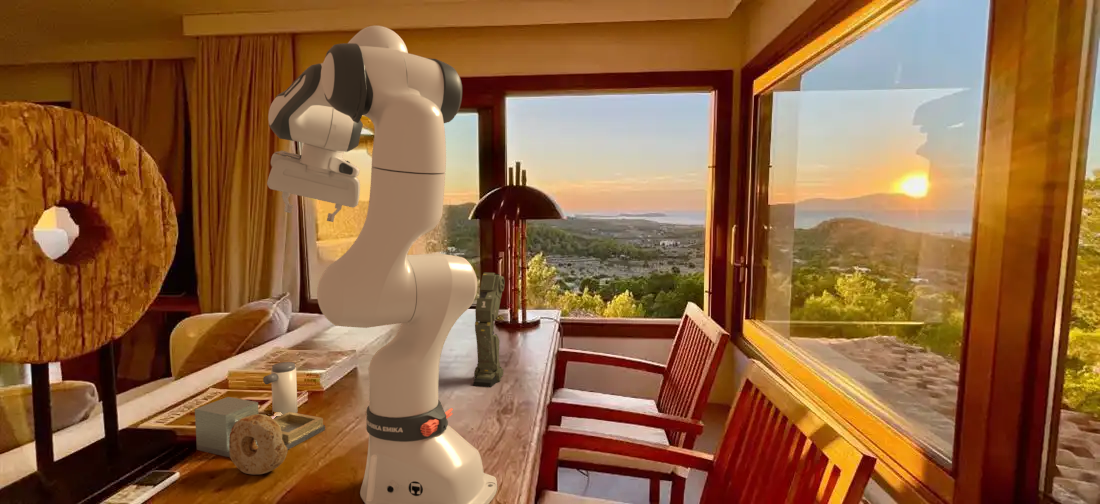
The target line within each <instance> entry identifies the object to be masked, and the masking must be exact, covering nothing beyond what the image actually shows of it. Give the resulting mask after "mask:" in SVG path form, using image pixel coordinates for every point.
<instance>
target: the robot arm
mask: <svg viewBox="0 0 1100 504" xmlns="http://www.w3.org/2000/svg"><path fill="white" fill-rule="evenodd" d="M408 51H409V50H408V48H407V46H406V43H405V42H404V40H403V38H401V36H399V34H398V33H396V32H395V31H394V30H392V29H390V28H388V27H386V26H382V25H370V26H367V27H365V28H362V29H361V30H359V31H358V32H357V33H356V34H355V35H354V36H352V38H350V40H349V41H348V42H347V43H337V44H333V45H332V46H331V47H330V49H328V50H327V51H326V54H325V57H324V60H323V62H321V63H315V64H311V65H310V66H308V67H307V68H306V69H305V70H304V71H303V72H302V73H301V74H300V75H299V76H298V77H297V78H296V79H295V80H294V81H293V82H292V83H291V84H290V86H288V87H287V89H285V90H284V91H282V92H280V93H278V94H277V95H276V96H275V98H274V99H273V101H272V103H271V104H270V107H269V109H268V119H267V121H268V126H269V128H270V129H271V130H272V132H273V133H274V135H275V136H277V138H279V139H281V140H285V141H286V140H287V141H291V142H294V141H295V142H298V143H299V142H300V143H303V145H302V149H301V154H299V153H298V154H297V153H293V152H288V151H285V150H280V151H275V152H274V153H273V154H272V156H271V159H270V166H271V169H270V172H269V176H268V178H267V180H266V181H267V182H266V186H267V187H268V188H269V189H270V190H274V191H278V192H282V194H281V197H282V200H283V203H284V205H285V206H284V209H283V210H284V211H283V212H284V213H290V214H292V213H293V208H294V205H293V204H291V202H290V201H289V199H288V198H289V197H291V194H292V195H295V196H300V197H304V198H309V199H314V200H318V201H322V202H327V203H332V204H334V205H335V206H334V209H335V210H334V211H333V212H332V213H329V212H328V214H327V217H326V221H327V222H330V223H333V222H334V221H335V216H336V215H337V214H338V213H339V212H340V211H341V210H342V206H345V207H349V208H352V209H353V208H356V207H357V206H358V205H359V200H360V195H361V182H360V179H359V178H358V176H359V175H360V171H361V169H360V168H359V167H358V166H357V165H355V164H353V163H351V162H350V161H349V160H346V159H345V158H343V157H344V152H345V153H348V152H350V151H352V150H354V149H356V148H357V147H359V146H360V145H359V142H360V139H361V135H362V130H363V126H364V124H363V122H362V120H361V119H362V117H365V118H366V117H367V118H368V119H370V120H371V122H372V124H373V127H374V137H373V143H372V144H373V146H372V153H371V170H370V171H371V172H370V190H369V199H368V208H367V213H366V218H365V220H364V223H363V226H362V228H361V231H360V232H359V234H358V236H357V237H356V239H355V241H354V242H353V244H352V245H351V246H350V247H349V249H347V251H345V253H343V255H341V257H339V258H338V259H336V260H335V261H334V262H332V263H331V264H330V265H329V266H328V267H326V268H325V270H324V271H323V273H322V274H321V275H320V279H319V281H318V283H317V289H316V291H317V292H316V298H317V304H318V307H319V309H320V312H321V313H322V315H323V316H324V317H325V318H326V320H327V321H329V323H331V324H332V325H334V326H336V327H343V328H344V327H345V328H359V329H360V328H363V329H367V328H376V327H383V326H391V325H397V324H398V325H400V327H399V329H398V331H397V333H396V335H395V336H394V337H393V338H392V340H390V341H389V342H388V343H387V344H385V345H384V346H382V347H381V348H379V349H378V350H377V351H376V352H375V353H374V355H373V356H372V358H371V360H370V362H369V365H368V368H367V369H368V401H369V402H368V406H367V407H366V417H365V418H366V420H365V421H366V423H365V424H366V432H367V433H368V448H367V456H366V465H365V471H364V475H363V480H362V484H361V487H360V491H359V494H360V498H361V500H362V501H363V502H364V504H490V502H491V501H493V499H494V497H495V496H496V493H497V491H498V481H497V478H496V477H495V476H494V475H491V474H488V473H485V472H484V466H483V461H482V456H481V454H480V452H479V450H478V449H477V448H475V446H473V445H472V444H471V443H469V442H468V441H467V440H466V439H465V438H464V437H462V436H461V434H459V433H458V432H457V431H456V430H455V429H454V428H452V426H450V425H449V421H448V418H450V417H451V416H452V415H453V412H452V411H454V409H453V408H452V407H451V408H449V409H447V411H445V409H444V408H443V405H442V403H441V402H442V401H441V400H440V399H439V377H440V376H439V375H440V362H441V355H442V351H443V347H444V345H445V343H446V341H447V338H448V335H449V334H450V332H451V330H452V328H453V326H454V325H455V324H456V323H457V321H458V320H459V318H461V316H462V315H463V314H464V313H465V312H467V310H469V309H470V307H472V305H473V303H474V301H475V298H476V297H477V292H478V278H477V274H476V271H475V270H474V268H473V266H472V265H471V263H470V262H469V261H468V260H467V259H466V258H465V257H462V256H457V255H452V254H444V253H419V254H409V251H410V250H411V248H412V246H413V245H414V244H415V243H416V242H417V241H418V240H419V239H420V238H421V237H422V236H424V235H427V234H429V233H430V232H432V231H433V230H434V229H435V228H436V227H437V226H439V223H441V219H442V218H443V213H444V212H443V211H444V199H445V198H444V196H445V184H446V183H445V182H446V181H445V180H446V165H447V144H446V143H447V142H446V131H445V130H446V129H445V124H447V123H449V122H451V121H452V120H454V118H455V117H456V115H457V114H458V112H459V111H460V108H461V105H462V100H463V84H462V80H461V77H460V75H459V74H458V72H457V70H456V69H455V68H454V67H453V66H452V65H450V64H448V63H446V62H444V61H441V60H440V59H437V58H431V57H430V58H428V57H423V56H420V55H416V54H413V53H409V52H408Z"/></svg>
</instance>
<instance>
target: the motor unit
mask: <svg viewBox="0 0 1100 504" xmlns="http://www.w3.org/2000/svg"><path fill="white" fill-rule="evenodd" d="M256 414H259V402H258V401H253V400H247V399H242V398H237V397H231V396H227V397H224V398H222V399H219V400H218V399H217V400H216V401H213V402H210V403H208V404H205V405H202V406H200V407H196V408H195V409H194V420H195V437H196V440H195V441H196V450H197V451H200V452H205V453H209V454H213V455H218V456H222V457H226V458H230V448H229V441H230V433H231V431H232V430H231V429H232V428H233V426H234V424H235V423H236V422H238V421H239V420H240V419H242V418H244V417H247V416H251V415H256ZM274 420H275V421H276V422H277V423H278V425H279V426H280V428H281V431H282V440H283V441H284V445H285V446H286V447H287V450H291V449H292V448H294V447H295V446H297V445H299V444H301V443H303V442H305V441H307V440H309V439H310V438H313V437H314V436H316V435H319V434H321V433H322V432H324V431H325V430H326V425H325V424H324V418H323V417H320V416H314V415H308V414H302V413H298V412H297V413H293V412H288V413H286V414H284V415H281V416H276V417H275V418H274ZM255 442H256V445H257V446H258V443H257V441H255Z"/></svg>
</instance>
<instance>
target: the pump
mask: <svg viewBox="0 0 1100 504" xmlns="http://www.w3.org/2000/svg"><path fill="white" fill-rule="evenodd" d="M262 380H263V381H262V382H263V383H264V384H265V385H269V384H271V399H272V401H271V402H272V412H273V411H274V412H281V413H282V414H283V415H284V414H286V413H288V412H293V413H298V390H297V389H298V384H297V381H298V380H297V367H296V363H295V362H293V361H292V362H291V361H285V362H277V363H275V364H273V365H272V366H271V372H270V374H267V375H265V376H263V378H262Z"/></svg>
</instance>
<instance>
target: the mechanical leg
mask: <svg viewBox="0 0 1100 504" xmlns="http://www.w3.org/2000/svg"><path fill="white" fill-rule="evenodd" d="M480 283H481V284H480V290H479V295H478V298H477V299H476V306H475V323H474V332H475V339H476V352H477V364H476V367H475V369H474V371H473V372H474V373H473V375H474V380H473V384H472V386H473V387H482V388H492V387H494V386H495V385H496V384H497V383H499V382H500V381H502V376H504V368H502V366H501V363H500V359H499V358H500V357H499V356H500V338H499V336H498V334H497V333H495V331H494V327H495V326H494V324H495V323H494V322H496V320H497V319H498V318H499V313H500V311H499V310H500V304H501V301H502V300H501V299H502V294H503V292H504V289H505V286H506V285H505V284H506V283H505V277H504V276H503V275H500V274H499V273H495V272H483V274H482V277H481V282H480Z"/></svg>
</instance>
